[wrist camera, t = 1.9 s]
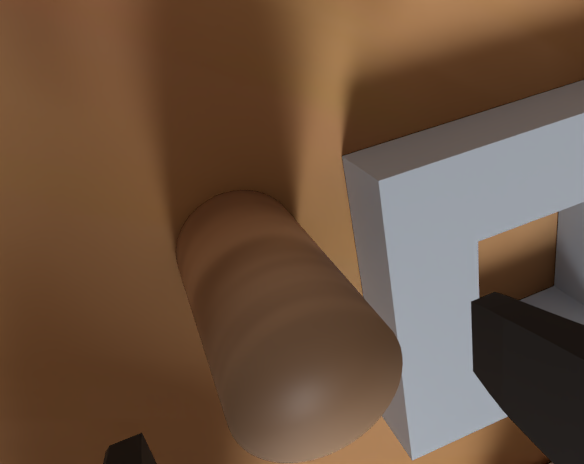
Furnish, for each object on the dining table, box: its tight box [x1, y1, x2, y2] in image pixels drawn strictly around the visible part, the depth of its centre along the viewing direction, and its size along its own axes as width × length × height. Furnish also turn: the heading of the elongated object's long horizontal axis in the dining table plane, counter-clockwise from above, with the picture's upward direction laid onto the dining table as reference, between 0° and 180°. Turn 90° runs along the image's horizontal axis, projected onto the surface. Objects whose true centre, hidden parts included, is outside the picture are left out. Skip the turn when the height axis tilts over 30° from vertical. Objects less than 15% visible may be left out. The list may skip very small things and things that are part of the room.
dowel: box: [176, 190, 403, 463], centre depth 14 cm, size 4×4×7 cm
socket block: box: [342, 80, 584, 460], centre depth 20 cm, size 12×12×2 cm
